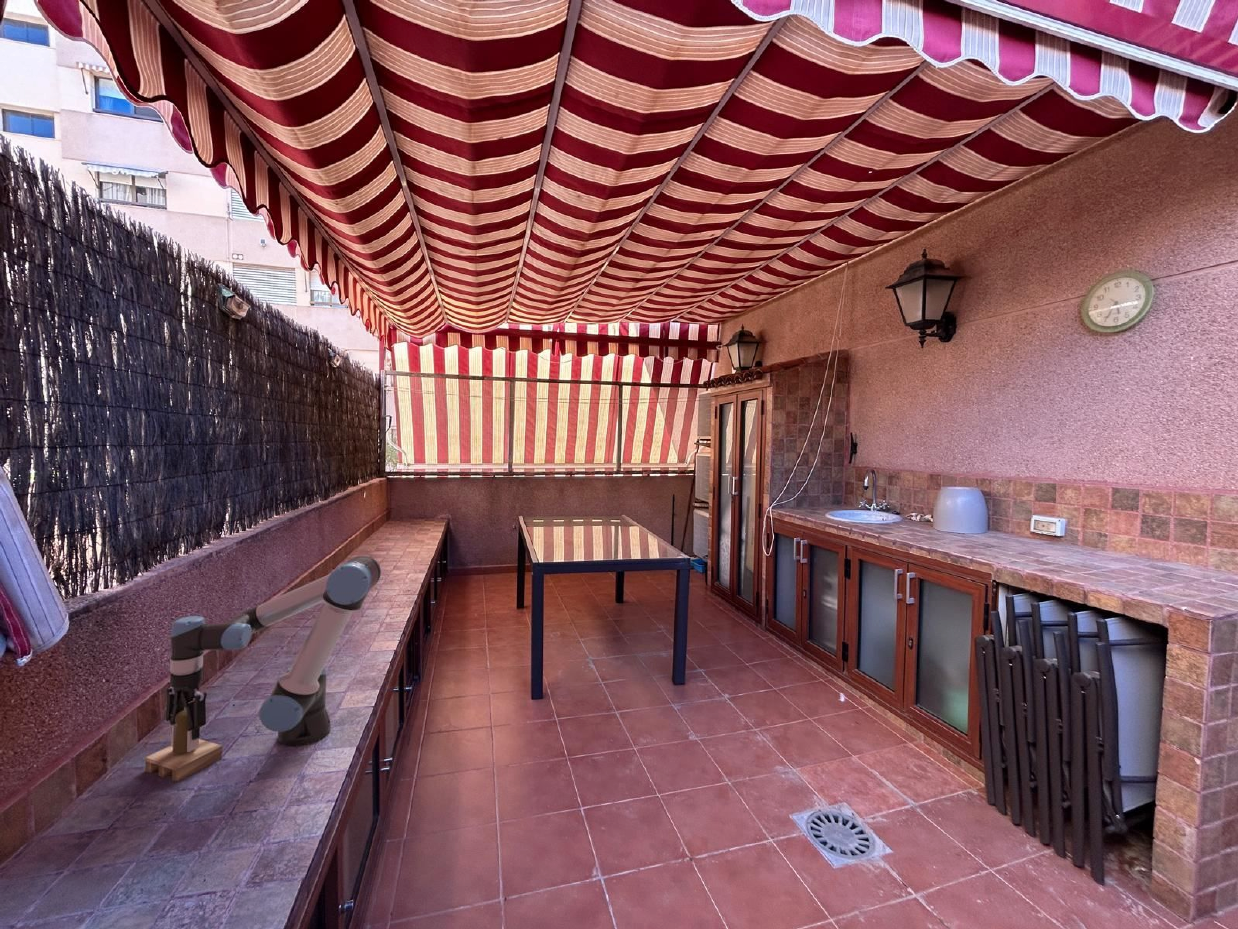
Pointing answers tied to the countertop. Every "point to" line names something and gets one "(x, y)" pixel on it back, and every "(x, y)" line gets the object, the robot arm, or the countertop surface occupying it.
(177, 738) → the cork
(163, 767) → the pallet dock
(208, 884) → the countertop surface
